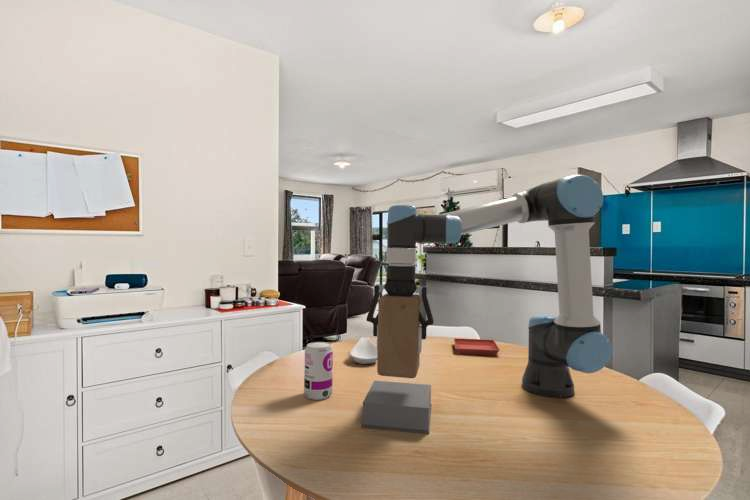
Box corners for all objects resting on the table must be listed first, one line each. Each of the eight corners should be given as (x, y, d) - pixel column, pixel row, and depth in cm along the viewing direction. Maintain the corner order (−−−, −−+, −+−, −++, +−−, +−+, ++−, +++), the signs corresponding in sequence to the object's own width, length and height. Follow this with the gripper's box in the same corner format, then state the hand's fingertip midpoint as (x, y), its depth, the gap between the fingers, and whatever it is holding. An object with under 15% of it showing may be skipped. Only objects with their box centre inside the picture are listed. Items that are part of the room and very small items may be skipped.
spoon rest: (381, 367, 143) (381, 348, 143) (349, 367, 142) (349, 348, 142) (377, 350, 166) (377, 333, 166) (349, 350, 166) (350, 333, 166)
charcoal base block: (431, 406, 108) (431, 384, 108) (429, 433, 91) (429, 408, 91) (373, 401, 110) (373, 380, 110) (361, 427, 94) (361, 402, 94)
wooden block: (416, 380, 95) (417, 298, 95) (376, 376, 97) (377, 297, 97) (419, 367, 105) (421, 294, 105) (383, 365, 107) (384, 292, 107)
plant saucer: (455, 355, 161) (455, 347, 161) (453, 344, 179) (453, 337, 179) (500, 358, 158) (500, 350, 158) (493, 347, 176) (493, 339, 176)
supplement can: (337, 393, 116) (337, 343, 116) (322, 402, 109) (323, 349, 109) (314, 388, 120) (315, 340, 120) (298, 397, 112) (299, 346, 112)
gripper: (445, 265, 102) (443, 349, 103) (361, 263, 106) (360, 343, 107) (445, 266, 95) (443, 357, 95) (355, 264, 99) (353, 350, 99)
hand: (399, 350), depth 101 cm, fingers closed on wooden block, 10 cm apart
